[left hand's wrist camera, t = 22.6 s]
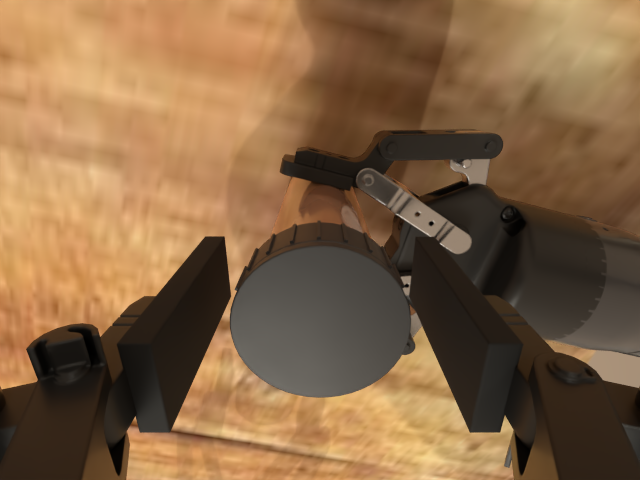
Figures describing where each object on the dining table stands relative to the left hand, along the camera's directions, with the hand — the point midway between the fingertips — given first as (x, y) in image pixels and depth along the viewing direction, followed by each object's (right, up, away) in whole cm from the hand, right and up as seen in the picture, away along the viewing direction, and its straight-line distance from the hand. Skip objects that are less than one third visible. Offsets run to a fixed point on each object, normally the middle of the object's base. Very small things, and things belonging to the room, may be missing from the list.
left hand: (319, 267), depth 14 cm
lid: (0, -1, -3) cm, 4 cm away
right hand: (-3, +3, +5) cm, 6 cm away
